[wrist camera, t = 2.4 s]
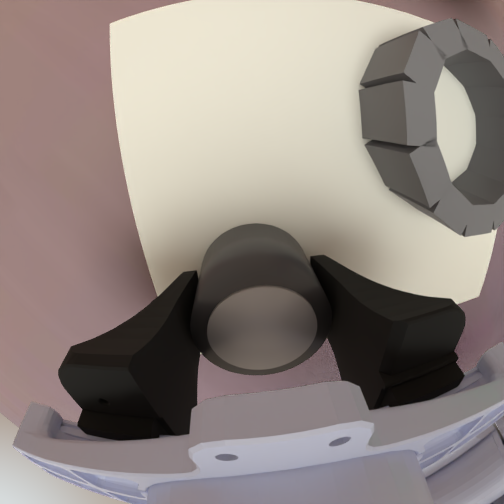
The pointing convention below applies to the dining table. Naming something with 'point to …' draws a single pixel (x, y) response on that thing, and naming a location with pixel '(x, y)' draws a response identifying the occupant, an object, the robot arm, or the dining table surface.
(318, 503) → the robot arm
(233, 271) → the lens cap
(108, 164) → the dining table surface
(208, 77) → the board
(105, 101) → the dining table surface
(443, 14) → the dining table surface
